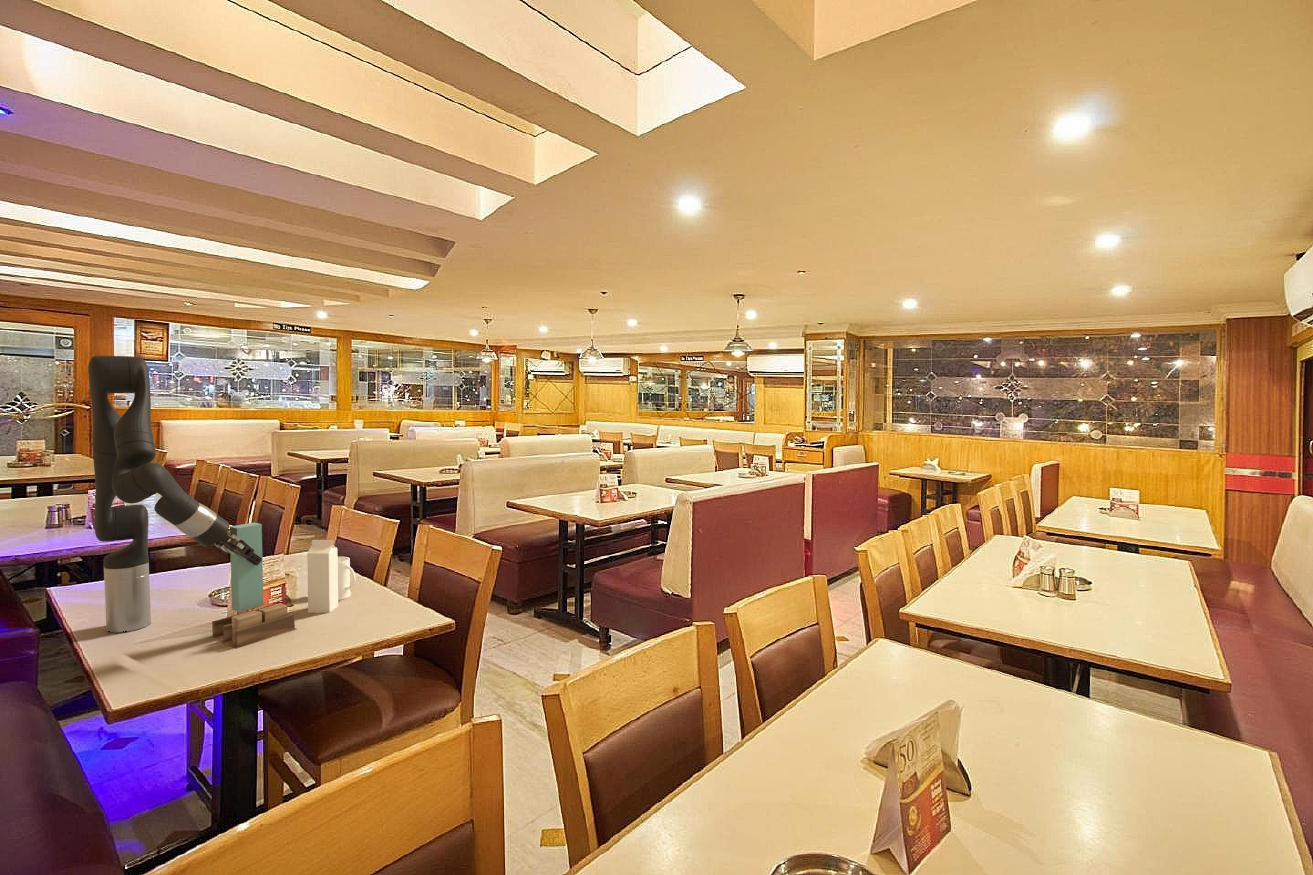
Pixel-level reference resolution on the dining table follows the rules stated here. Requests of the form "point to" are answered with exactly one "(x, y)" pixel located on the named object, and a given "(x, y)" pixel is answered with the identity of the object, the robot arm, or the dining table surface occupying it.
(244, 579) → the teal rectangular block
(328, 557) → the milk
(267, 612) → the offcut
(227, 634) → the rack
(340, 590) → the mug
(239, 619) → the offcut
